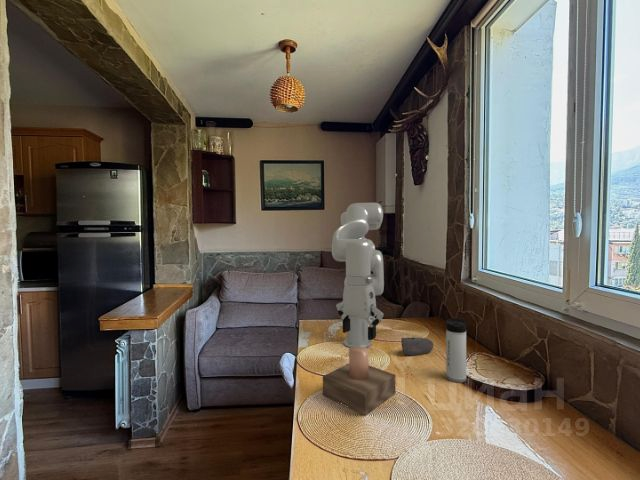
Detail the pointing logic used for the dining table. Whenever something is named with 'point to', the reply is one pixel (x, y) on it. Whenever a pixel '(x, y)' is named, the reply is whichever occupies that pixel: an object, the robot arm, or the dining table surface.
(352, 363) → the terracotta canister
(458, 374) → the travel mug
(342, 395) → the walnut riser block
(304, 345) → the dining table surface
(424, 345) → the dark grey rounded block
